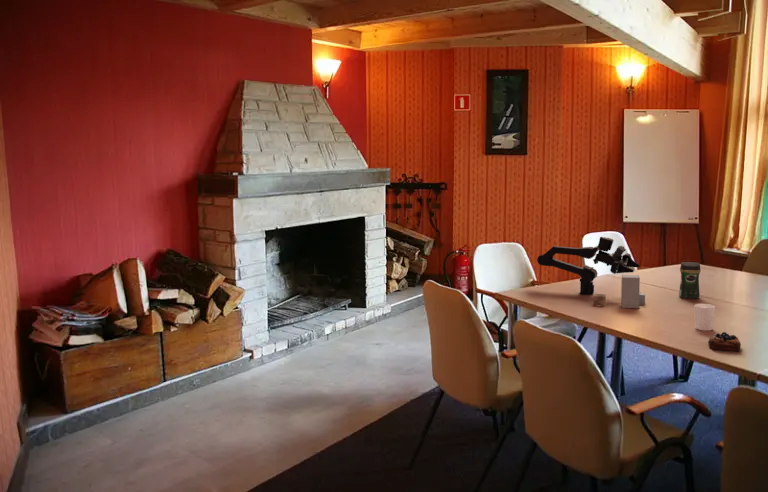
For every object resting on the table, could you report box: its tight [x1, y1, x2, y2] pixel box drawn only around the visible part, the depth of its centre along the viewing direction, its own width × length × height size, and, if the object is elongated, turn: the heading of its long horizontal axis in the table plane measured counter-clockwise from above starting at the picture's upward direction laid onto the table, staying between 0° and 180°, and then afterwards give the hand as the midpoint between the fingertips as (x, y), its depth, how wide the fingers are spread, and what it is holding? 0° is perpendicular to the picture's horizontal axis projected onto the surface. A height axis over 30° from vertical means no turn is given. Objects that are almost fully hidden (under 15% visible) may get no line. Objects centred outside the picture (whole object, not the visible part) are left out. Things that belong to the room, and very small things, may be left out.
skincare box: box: [620, 274, 641, 309], centre depth 306 cm, size 8×7×16 cm
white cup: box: [693, 303, 716, 332], centre depth 267 cm, size 8×8×10 cm
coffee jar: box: [678, 261, 702, 300], centre depth 323 cm, size 10×8×19 cm
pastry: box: [707, 331, 742, 353], centre depth 242 cm, size 11×12×6 cm
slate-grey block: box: [639, 292, 646, 306], centre depth 314 cm, size 5×5×5 cm
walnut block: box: [593, 293, 606, 307], centre depth 312 cm, size 5×5×5 cm
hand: (636, 268), depth 321 cm, fingers open, 9 cm apart
